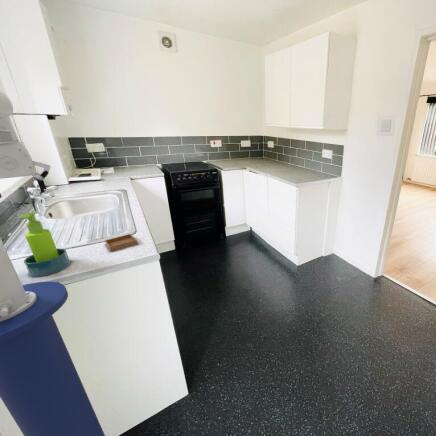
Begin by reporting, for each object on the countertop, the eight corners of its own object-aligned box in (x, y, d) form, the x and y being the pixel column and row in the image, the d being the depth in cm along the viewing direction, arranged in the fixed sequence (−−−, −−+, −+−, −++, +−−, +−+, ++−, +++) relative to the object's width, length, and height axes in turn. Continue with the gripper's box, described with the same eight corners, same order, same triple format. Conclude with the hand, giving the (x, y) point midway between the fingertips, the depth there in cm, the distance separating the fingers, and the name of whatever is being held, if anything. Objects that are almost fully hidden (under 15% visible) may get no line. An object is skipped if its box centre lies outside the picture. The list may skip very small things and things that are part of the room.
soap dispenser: (34, 273, 82) (9, 217, 75) (44, 263, 88) (22, 211, 81) (56, 270, 84) (34, 215, 77) (65, 260, 90) (45, 209, 83)
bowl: (71, 267, 86) (67, 255, 84) (29, 280, 79) (23, 267, 77) (69, 257, 93) (64, 245, 92) (29, 268, 86) (24, 255, 85)
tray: (137, 244, 104) (136, 240, 103) (110, 251, 97) (109, 247, 97) (131, 237, 110) (130, 233, 109) (106, 244, 104) (104, 240, 103)
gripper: (-53, 139, 63) (-22, 202, 69) (40, 137, 75) (59, 191, 81) (-46, 139, 68) (-18, 198, 74) (39, 136, 80) (58, 188, 86)
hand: (22, 194), depth 77 cm, fingers open, 9 cm apart
